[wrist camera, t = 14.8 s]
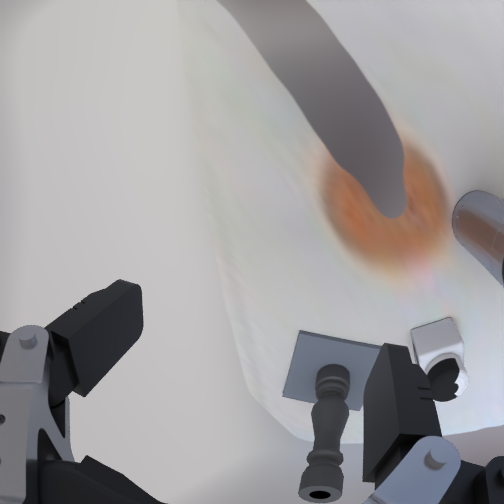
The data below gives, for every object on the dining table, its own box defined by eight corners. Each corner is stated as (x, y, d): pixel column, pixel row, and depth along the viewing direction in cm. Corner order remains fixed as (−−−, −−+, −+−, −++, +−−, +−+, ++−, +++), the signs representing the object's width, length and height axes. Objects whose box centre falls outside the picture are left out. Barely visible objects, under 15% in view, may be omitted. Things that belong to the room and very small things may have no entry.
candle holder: (340, 392, 55) (330, 506, 32) (311, 382, 55) (289, 497, 33) (355, 369, 52) (352, 490, 30) (324, 359, 53) (308, 480, 30)
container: (415, 362, 50) (427, 413, 38) (410, 329, 48) (424, 379, 36) (453, 350, 47) (472, 398, 36) (451, 316, 46) (474, 362, 34)
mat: (387, 347, 50) (388, 350, 50) (359, 407, 56) (359, 411, 55) (299, 330, 53) (299, 333, 52) (283, 393, 59) (282, 396, 58)
